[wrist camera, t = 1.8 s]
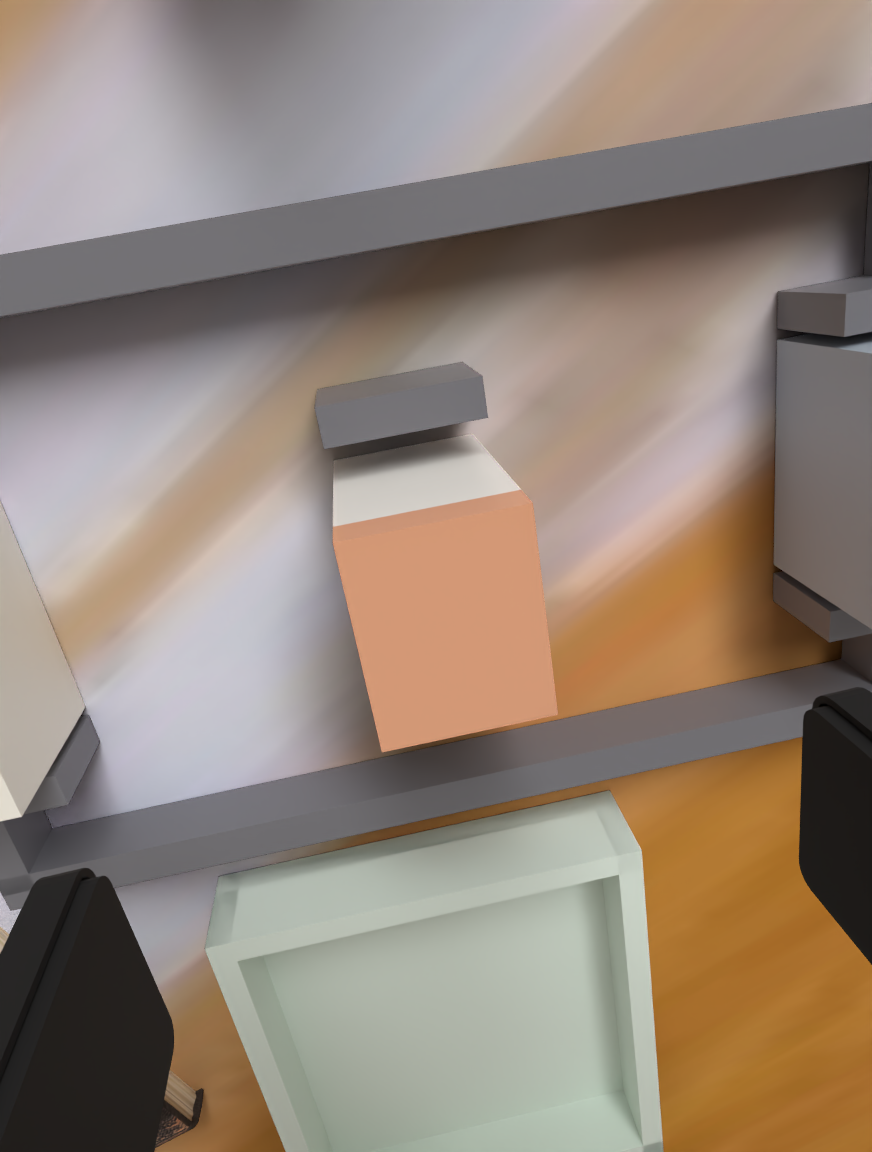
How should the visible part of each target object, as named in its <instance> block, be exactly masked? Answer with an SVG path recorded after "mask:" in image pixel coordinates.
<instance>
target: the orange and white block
mask: <svg viewBox="0 0 872 1152" xmlns="http://www.w3.org/2000/svg"><path fill="white" fill-rule="evenodd" d="M333 546H334V551H335V555H336V559H337V563H338V568H339V572H340V576H341V580H342V585H343V589H344V593H345V597H346V602H347V606H348V610H349V614H350V619H351V623H352V627H353V631H354V636H355V640H356V644H357V648H358V653H359V657H360V661H361V665H362V670H363V674H364V678H365V683H366V687H367V691H368V695H369V700H370V704H371V708H372V712H373V717H374V721H375V725H376V729H377V734H378V738H379V742H380V746H381V751H382V752H386V751H391V750H396V749H400V748H405V747H410V746H414V745H419V744H424V743H428V742H433V741H438V740H442V739H447V738H452V737H456V736H461V735H466V734H470V733H475V732H480V731H484V730H489V729H494V728H498V727H503V726H508V725H512V724H517V723H522V722H526V721H531V720H535V719H540V718H545V717H549V716H554V715H558V711H557V702H556V694H555V685H554V677H553V669H552V660H551V652H550V643H549V635H548V627H547V618H546V610H545V601H544V593H543V584H542V576H541V568H540V559H539V551H538V542H537V534H536V525H535V517H534V509H533V503H532V502H531V500H530V499H529V498H528V497H527V496H526V495H525V493H524V492H523V491H522V490H521V489H520V488H519V487H518V485H517V484H516V483H515V482H514V481H513V480H512V478H511V477H510V476H509V475H508V474H507V473H506V472H505V470H504V469H503V468H502V467H501V466H500V465H499V464H498V462H497V461H496V460H495V459H494V458H493V457H492V455H491V454H490V453H489V452H488V451H487V450H486V449H485V447H484V446H483V445H482V444H481V443H480V442H479V440H478V439H477V438H476V437H475V436H474V435H473V434H468V435H463V436H458V437H453V438H447V439H442V440H437V441H432V442H427V443H421V444H416V445H411V446H406V447H401V448H396V449H390V450H385V451H380V452H375V453H370V454H364V455H359V456H354V457H349V458H344V459H339V460H333Z"/></svg>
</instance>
